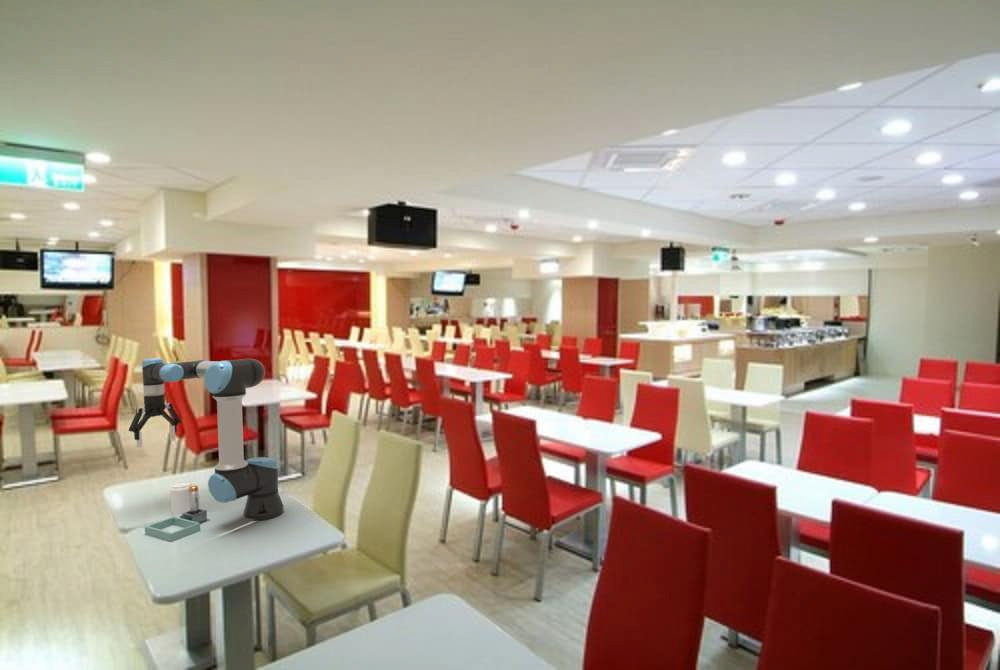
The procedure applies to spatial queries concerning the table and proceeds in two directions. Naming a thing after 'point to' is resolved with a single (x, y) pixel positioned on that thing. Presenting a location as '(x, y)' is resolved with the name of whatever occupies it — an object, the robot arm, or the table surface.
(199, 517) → the dark grey open box
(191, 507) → the grey orange cylinder
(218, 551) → the table surface
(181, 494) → the white upright cylinder
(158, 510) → the table surface
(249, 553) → the table surface
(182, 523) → the tray
